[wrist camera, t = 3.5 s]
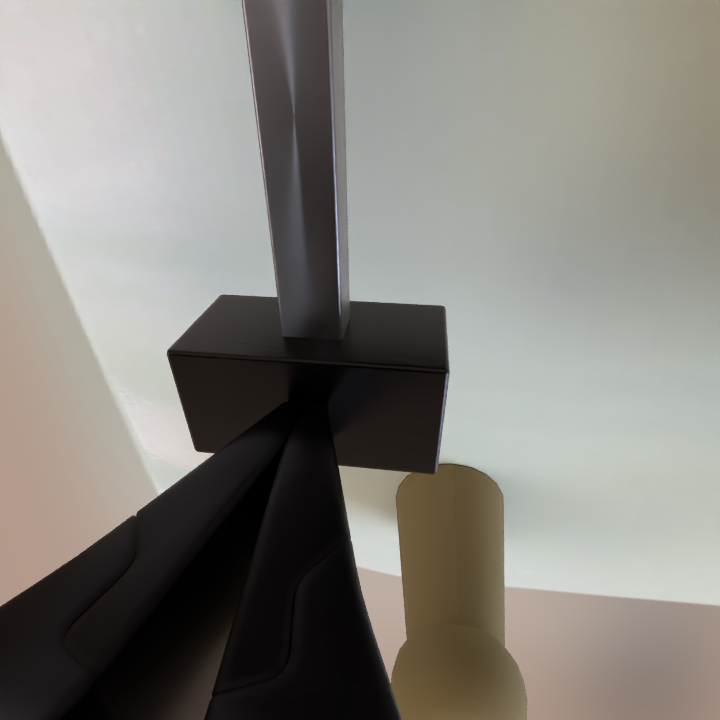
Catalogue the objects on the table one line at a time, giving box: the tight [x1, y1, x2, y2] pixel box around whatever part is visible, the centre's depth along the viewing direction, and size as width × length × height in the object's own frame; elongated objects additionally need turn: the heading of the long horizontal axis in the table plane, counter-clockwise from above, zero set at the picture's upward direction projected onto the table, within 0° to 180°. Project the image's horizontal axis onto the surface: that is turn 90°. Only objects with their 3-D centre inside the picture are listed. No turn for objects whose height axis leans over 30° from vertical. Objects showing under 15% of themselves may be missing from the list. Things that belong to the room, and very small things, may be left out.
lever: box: [167, 0, 450, 474], centre depth 7 cm, size 13×5×3 cm, turn 0°
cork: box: [391, 464, 527, 720], centre depth 20 cm, size 6×6×11 cm
